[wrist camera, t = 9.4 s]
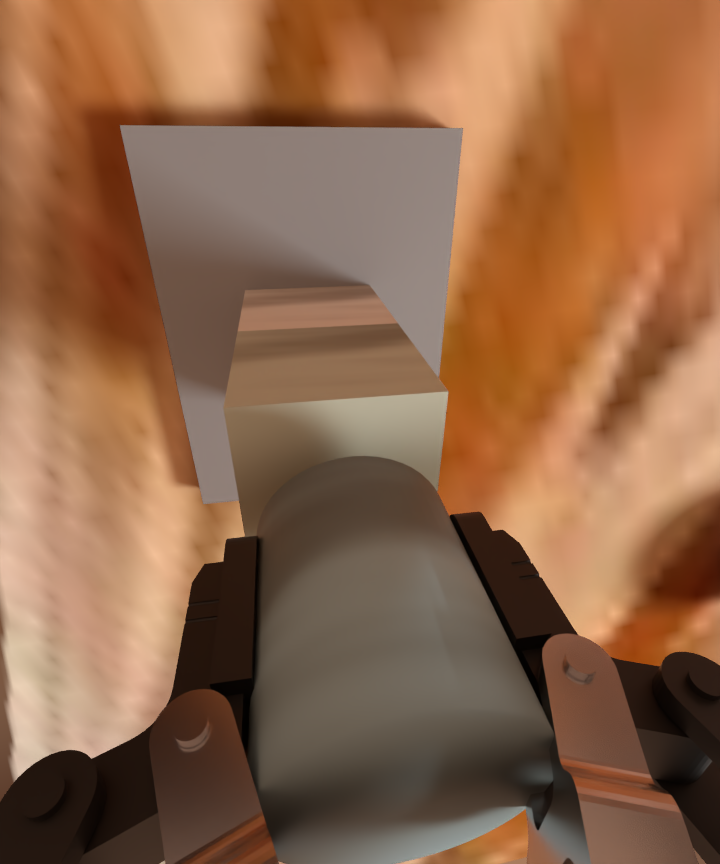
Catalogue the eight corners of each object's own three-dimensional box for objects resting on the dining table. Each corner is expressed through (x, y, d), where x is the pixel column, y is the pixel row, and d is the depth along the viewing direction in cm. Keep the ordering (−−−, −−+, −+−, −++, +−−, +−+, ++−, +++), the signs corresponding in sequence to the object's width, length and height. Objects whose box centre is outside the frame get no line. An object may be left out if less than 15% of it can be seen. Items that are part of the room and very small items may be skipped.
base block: (245, 290, 22) (237, 331, 17) (369, 285, 23) (398, 323, 18) (259, 402, 25) (256, 466, 20) (368, 394, 26) (392, 453, 21)
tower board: (129, 127, 19) (119, 125, 18) (451, 129, 21) (462, 128, 20) (206, 488, 29) (203, 504, 28) (422, 468, 31) (428, 481, 30)
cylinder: (244, 465, 11) (220, 746, 6) (452, 447, 11) (598, 682, 6) (266, 609, 13) (263, 891, 8) (435, 587, 14) (529, 835, 9)
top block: (237, 331, 17) (223, 407, 12) (398, 323, 18) (448, 391, 13) (256, 466, 20) (251, 572, 15) (392, 453, 21) (430, 550, 16)
